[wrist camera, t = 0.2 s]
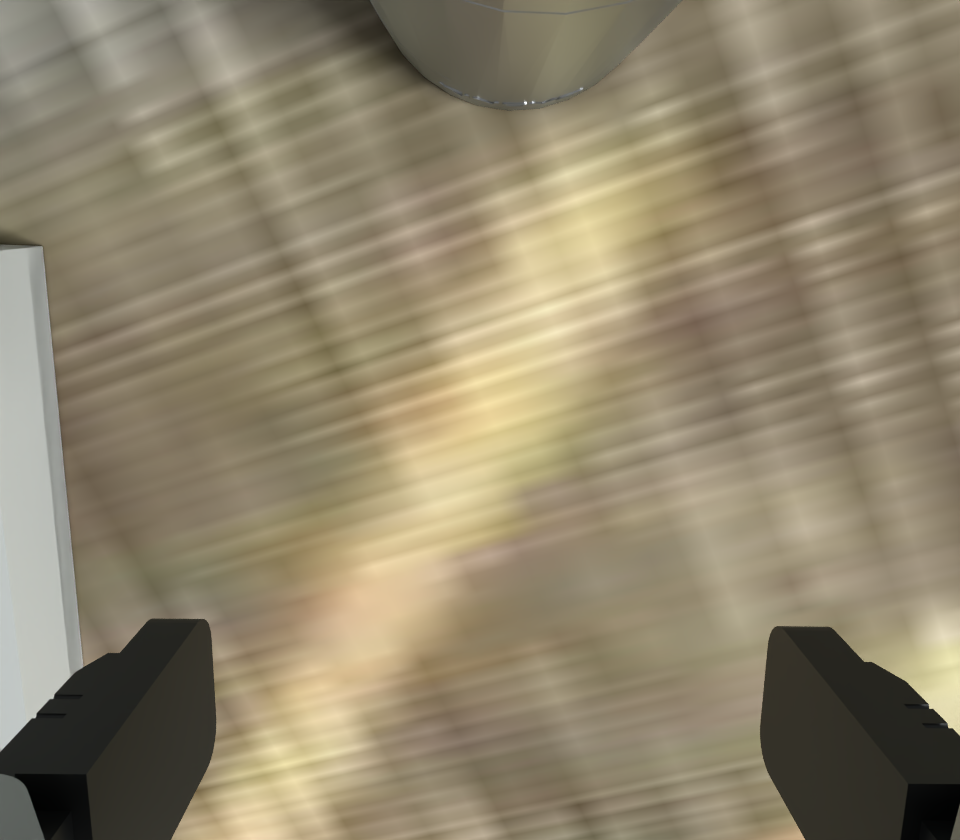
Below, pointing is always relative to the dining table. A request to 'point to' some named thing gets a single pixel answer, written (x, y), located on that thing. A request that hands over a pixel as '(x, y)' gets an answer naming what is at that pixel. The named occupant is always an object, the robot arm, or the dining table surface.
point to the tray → (31, 503)
